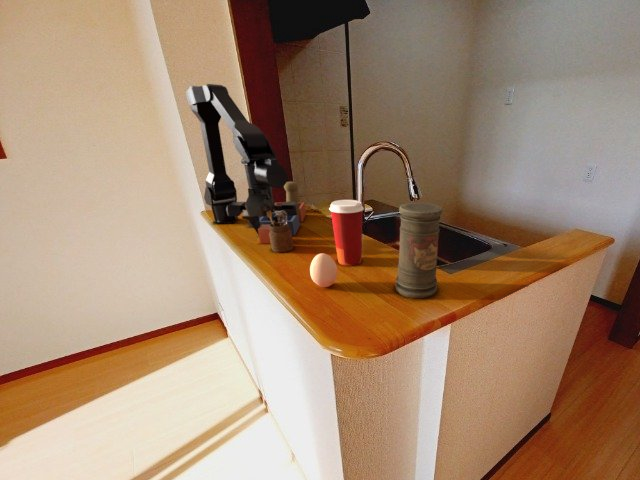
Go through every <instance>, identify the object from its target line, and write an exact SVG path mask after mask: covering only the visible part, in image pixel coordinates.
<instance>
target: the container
mask: <svg viewBox="0 0 640 480" xmlns="http://www.w3.org/2000/svg"><path fill="white" fill-rule="evenodd" d="M398 212H399V213H400V214H399V215H400V216H399V217H400V226H399V249H398V250H399V253H398V254H399V255H398V265H397V276H396V278H395V281H396V282H395V286H394V287H395V290H396V292H397V293H398V294H399V295H401V296H403V297H406V298H411V299H425V298H429V297H432V296H434V295H435V294H436V292H437V290H438V285H437V283H438V279H437V277H436V276H437V269H438V267H437V262H438V250H439V249H438V248H439V246H438V245H439V236H440V235H439V234H440V231H441V230H440V229H441V228H440V221H441V215H443V208H442V206H440V205H438V204H435V203H429V202H407V203H403V204H401V205H400V206H399V209H398Z"/></svg>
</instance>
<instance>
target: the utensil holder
mask: <svg viewBox="0 0 640 480" xmlns="http://www.w3.org/2000/svg"><path fill="white" fill-rule="evenodd" d="M269 212H270V213H269ZM278 214H279V213H278ZM280 214H281V213H280ZM285 214H286V213H285ZM267 216H268V217H269V218H270V220H271V222H272V224H270V225H269V230H270V233H269V237H270V243H269V244H270V247H271V249H272V251H273V252H274V253H288V252H290V251H292V250H293V249H294V239H293V236H292V233H291V231H290V230H289V228H290V227H289V224H288V223H287V222H286V223H285V222H280V221H278V222H277V223H273V221H272V218H271V217H272V214H271V211H267Z"/></svg>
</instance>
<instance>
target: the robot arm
mask: <svg viewBox="0 0 640 480" xmlns="http://www.w3.org/2000/svg"><path fill="white" fill-rule="evenodd" d="M185 97H186V101H187V103H188V105H189V108H190V111H191V112H192V114H194V116H195V117H196V118H197V119H198V121H199V124H200V130H201V135H202V141H203V145H204V151H205V157H206V161H207V167H208V174H207V176H206V178H205V189H204V195H203V200H204V201H205V204H206V205H207V206H210V207H211V211H212V214H213V219H214V220H213V224H234V223H235V222H237V220H239V219H240V218H239V217H240V215H242V216H241V218H242V219H243V220H246V221H247V222H248V221H249V222H250V223H251V224H252V226H253V227H252V228H253V229H254V231H255V232H256V234H257V235H258V236H259V232H258V228H259V227H260V226H261V225H260V220H259V216H261V217H264V216H266V215H267V211H271V212H275V213H276V215H275V216H274V217H273V218H274V221H275V223H277V222H278V221H280V222H282V220H283V218H285V217H286V216H295V215H297V214H298V213H299V211H300V209H299V204H298V203H297V202H286V201H284V202H282V203H283V204H282V205H275V199H274V196H273V195H274V194H273V191H272V190H273V188H276V189H280V188H282V187H283V188H284V185H285V184H286V182H288V172H287V170H286V168H284V166H282V165H281V164H279V160H278V157H277V155H276V154H277V153H276V151H275V150H274V148H273V147H272V145H271V143H270V140H269V139H268V137H267V136H266V135H265V133H264V132H263V131H262V130H261V129H260V127H258V126H257V125H255V124H253V123H251V122H249V120H247V118H246V117H245V115H244V114H243V112H242V110H241V109H240V108H239V107H238V106H237V104H236V102H235V101H234V100H233V99H232V97H231V96H230V93H229V90H228V88H227V86H224V85H222V84H217V83H216V84H215V83H206V84H204V85H200V86H199V85H190V86H189V87H188V89H186V90H185ZM221 120H223V121H224V124H226V125H227V127H228V129H229V130H230V132H231V134H232V136H233V137H232V143H233V144H234V147H235V150H236V151H237V152H238V154H239V155H240V156H241V158H242V159H241V161H240V162H241V164H242V165H243V166H244V172H245V176H246V180H247V186H248V188H247V194H248V196H247V198H246V200H245V201H238V195H237V188H236V186H235V182H234V180H233V179H232V178H231V177H230V176H229V174H227V168H226V163H225V162H226V161H225V156H224V150H223V144H222V138H221V132H220V125H219V124H220V121H221ZM278 213H279V214H278ZM280 213H281V214H280ZM285 213H286V214H285Z"/></svg>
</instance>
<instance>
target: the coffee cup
mask: <svg viewBox="0 0 640 480" xmlns="http://www.w3.org/2000/svg"><path fill="white" fill-rule="evenodd" d="M329 206H330V207H328V210H329V211H330V215H331V223H332V228H333V235H334V243H335V251H336V255H337V257H336V258H337V261H338V264H339V265H341V266H347V267H349V266H350V267H351V266H356V265H359V264H361V262H362V256H363V255H362V251H363V249H362V248H363V211H364V210H365V209H364V206H363V203H362V202H361V201H359V200H356V199H338V200H334V201H332V202H331V204H330V205H329Z"/></svg>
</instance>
